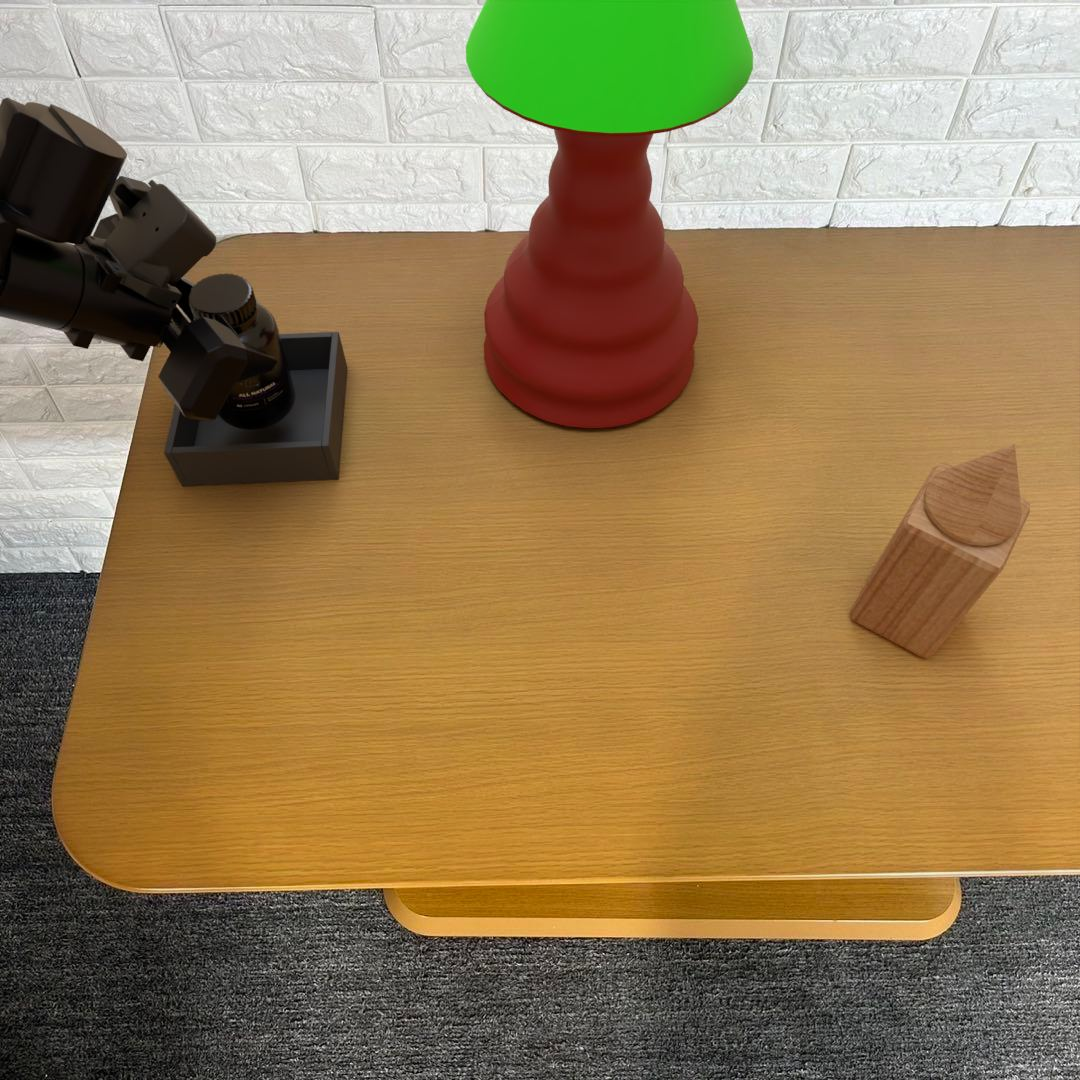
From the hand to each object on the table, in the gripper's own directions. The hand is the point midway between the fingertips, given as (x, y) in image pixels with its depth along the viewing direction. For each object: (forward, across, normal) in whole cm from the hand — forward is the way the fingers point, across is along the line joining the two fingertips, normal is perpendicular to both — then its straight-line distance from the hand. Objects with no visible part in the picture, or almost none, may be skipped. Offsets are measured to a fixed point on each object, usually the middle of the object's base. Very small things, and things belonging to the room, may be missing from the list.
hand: (252, 339), depth 72 cm
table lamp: (+26, -11, -12) cm, 31 cm away
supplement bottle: (+4, 0, +6) cm, 7 cm away
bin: (+6, 0, +8) cm, 10 cm away
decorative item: (+27, -47, -13) cm, 56 cm away
